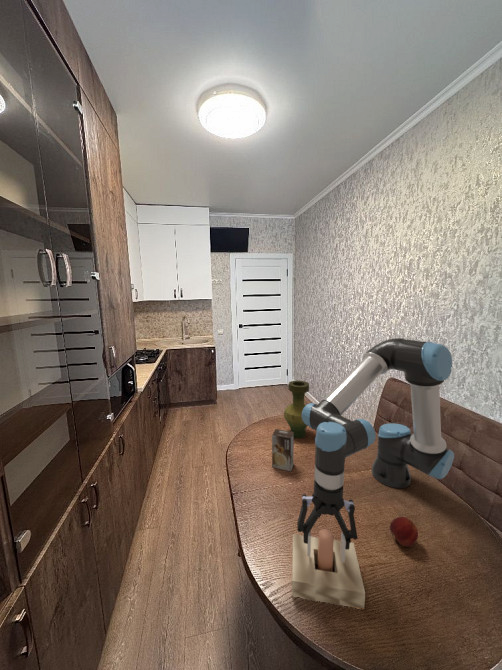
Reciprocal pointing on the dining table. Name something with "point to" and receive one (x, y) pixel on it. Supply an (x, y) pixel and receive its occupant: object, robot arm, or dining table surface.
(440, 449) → the robot arm
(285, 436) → the coffee box
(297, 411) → the vase
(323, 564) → the peg
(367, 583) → the dining table surface
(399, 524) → the apple
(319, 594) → the socket block
